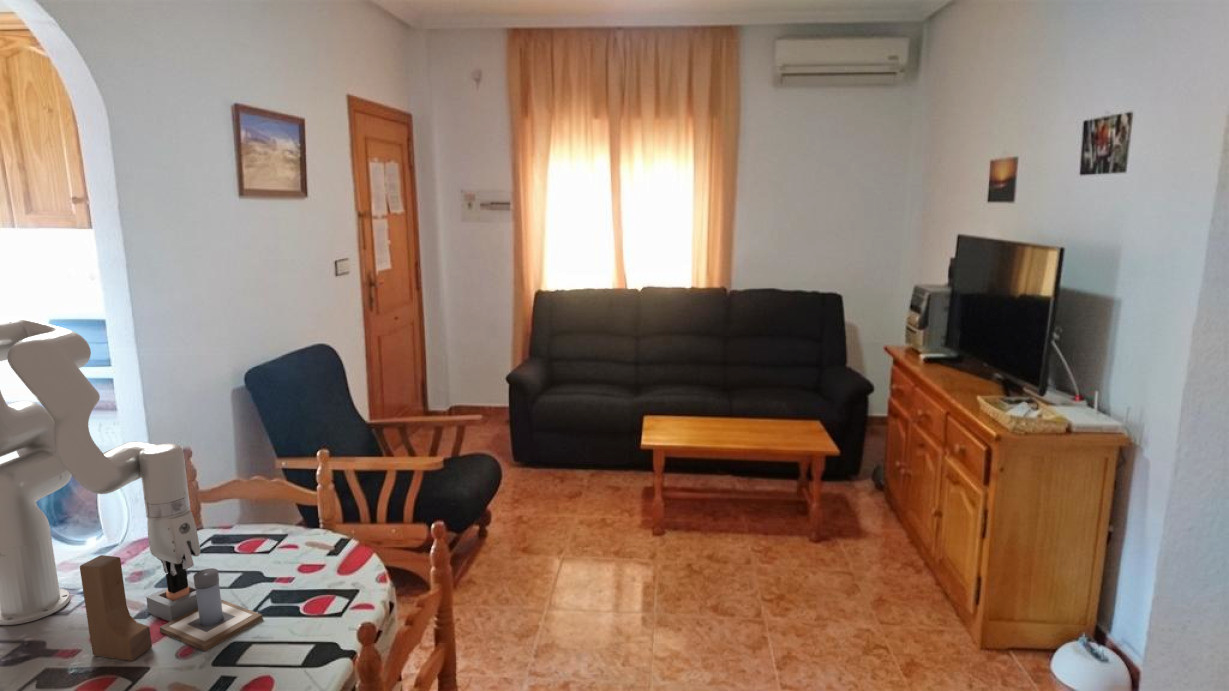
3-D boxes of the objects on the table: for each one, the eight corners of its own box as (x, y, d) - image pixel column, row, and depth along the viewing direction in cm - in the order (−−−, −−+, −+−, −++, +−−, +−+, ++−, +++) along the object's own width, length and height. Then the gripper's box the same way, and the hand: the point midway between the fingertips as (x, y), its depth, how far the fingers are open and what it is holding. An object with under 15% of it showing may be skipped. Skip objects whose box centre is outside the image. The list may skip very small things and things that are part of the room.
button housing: (148, 612, 144) (146, 597, 143) (186, 594, 151) (185, 579, 150) (172, 622, 140) (170, 606, 140) (210, 603, 147) (208, 588, 147)
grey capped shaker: (194, 621, 139) (188, 575, 137) (216, 611, 142) (210, 566, 140) (206, 628, 136) (201, 581, 134) (228, 617, 140) (222, 572, 138)
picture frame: (159, 631, 137) (159, 626, 137) (218, 602, 148) (217, 597, 148) (205, 651, 131) (204, 645, 131) (262, 619, 142) (262, 613, 141)
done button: (163, 602, 145) (161, 591, 144) (182, 593, 148) (181, 582, 148) (175, 607, 143) (173, 596, 142) (194, 598, 146) (193, 587, 146)
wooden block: (153, 647, 132) (141, 558, 129) (132, 662, 128) (120, 570, 125) (113, 641, 134) (100, 554, 131) (91, 656, 130) (78, 565, 127)
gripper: (209, 505, 142) (218, 589, 145) (164, 493, 148) (174, 573, 152) (171, 519, 135) (182, 607, 138) (126, 505, 142) (137, 589, 145)
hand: (178, 589), depth 145 cm, fingers closed
